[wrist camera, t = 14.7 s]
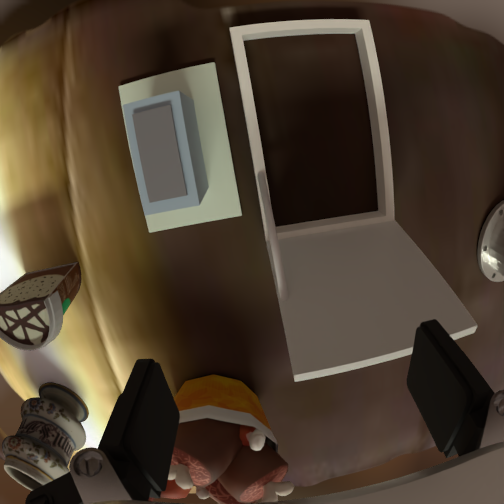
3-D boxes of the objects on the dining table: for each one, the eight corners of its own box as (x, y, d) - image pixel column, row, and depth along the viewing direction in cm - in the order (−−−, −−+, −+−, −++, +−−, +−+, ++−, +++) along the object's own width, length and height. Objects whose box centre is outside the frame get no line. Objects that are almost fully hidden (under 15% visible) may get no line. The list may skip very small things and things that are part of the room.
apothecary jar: (51, 419, 46) (19, 490, 29) (24, 373, 42) (-22, 447, 25) (104, 428, 46) (78, 510, 29) (80, 381, 42) (38, 471, 25)
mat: (215, 63, 28) (214, 62, 27) (241, 214, 34) (241, 215, 33) (120, 87, 28) (118, 86, 28) (150, 231, 34) (149, 232, 33)
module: (193, 100, 29) (178, 89, 21) (208, 187, 32) (199, 206, 24) (149, 110, 29) (121, 104, 21) (165, 195, 32) (143, 216, 24)
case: (361, 25, 26) (455, -38, 10) (386, 248, 36) (475, 333, 19) (230, 34, 27) (222, -57, 10) (270, 269, 36) (295, 383, 19)
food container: (35, 313, 37) (0, 355, 28) (18, 274, 35) (-23, 310, 26) (104, 304, 37) (73, 353, 28) (88, 259, 35) (48, 300, 25)
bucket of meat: (283, 354, 41) (308, 488, 22) (279, 429, 47) (294, 536, 28) (133, 356, 40) (90, 479, 22) (158, 430, 46) (139, 532, 27)
